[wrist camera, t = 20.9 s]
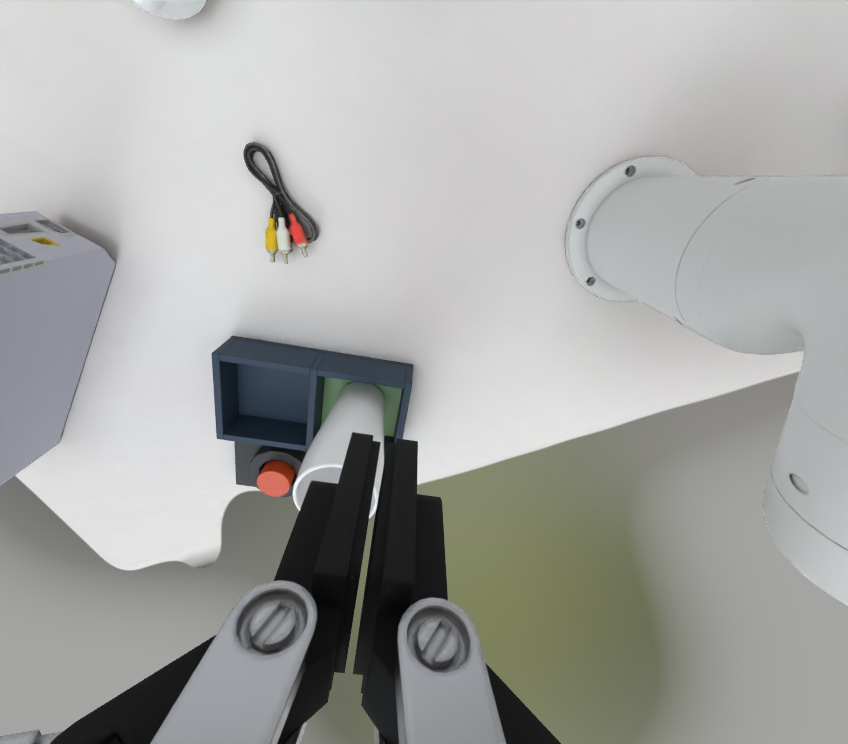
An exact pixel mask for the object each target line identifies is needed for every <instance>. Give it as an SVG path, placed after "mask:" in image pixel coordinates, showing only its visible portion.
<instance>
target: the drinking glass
mask: <svg viewBox="0 0 848 744" xmlns="http://www.w3.org/2000/svg"><path fill="white" fill-rule="evenodd" d="M385 407H386V402H385V398H384V395H383V394H382V392H381V391H380V390H379V389H378V388H377V387H376V386H374V385H373V384H367V383H361V382H353V383H350V384H348V385H346V386H345V387H343V388H342V389H341V391H340V392H339V394H338V396H337V398H336V401H335V403H334V405H333V407H332V408H331V410H330V412H329V414H328V415H327V417H326V419H325V420H324V422H323V424H322V426H321V427H320V429H319V431H318V432H317V434H316V436H315V438H314V439H313V441H312V443H311V445H310V447H309V449H308V450H307V453H306V455H305V457H304V459H303V461H302V464H301V466H300V469H299V472H298V475H297V478H296V481H295V484H294V487H293V499H294V502H295V505H296V507H297V508H298V510H299V511H300V509H301V506H302V503H303V500H304V498H305V495H306V492H307V490H308V487H309V485H310V482H311V481H312V480H313V481H321V482H328V483H336V484H338V482H339V478H340V475H341V471H342V467H343V464H344V460H345V456H346V453H347V449H348V446H349V442H350V438H351V435H352V432H355V433H362V434H369V435H373V441H378V442H381V444H380V451H379V457H378V463H377V470H376V476H375V482H374V489H373V495H372V501H371V508H370V514H369V518H370V517H371V516H372V515H373V514H374V512H375V511H376V509H377V503H378V497H379V491H380V485H381V479H382V473H383V467H384V414H385Z"/></svg>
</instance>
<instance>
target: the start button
mask: <svg viewBox="0 0 848 744" xmlns="http://www.w3.org/2000/svg"><path fill="white" fill-rule="evenodd" d="M294 477H295V472H294V470H293V468H292V467H291V466H290V465H289V464H287V463H286V462H284V461H280V460H273V461H270V462H268V463H266V464H265V466H264V467H263V469H262V471H261V473H260V474H259V476H258V478H257V486H258V488H259V489H260V490H261V491H262V492H263V493H265V494H267V495H269V496H274V497H278V496H282V495H284V494H286V493H287V492H288V491H289V489H290V487H291V484H292V482H293V480H294Z"/></svg>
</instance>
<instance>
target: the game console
mask: <svg viewBox="0 0 848 744" xmlns="http://www.w3.org/2000/svg"><path fill="white" fill-rule="evenodd" d="M115 264H116V263H115V262H114V261H113V259H112V258H111V257H110V256H109V254H108V253H107V252H106V250H105V249H104V248H102V247H101V246H99V245H97V244H95V243H93V242H91V241H89V240H88V239H86V238H84V237H82V236H80V235H78V234H76V233H75V232H73V231H71V230H69V229H67V228H65V227H63V226H62V225H60V224H58V223H56V222H54V221H52V220H50V219H49V218H47V217H45V216H43V215H41V214H40V213H39V212H37V211H33V212H21V213H9V214H0V486H1V485H2V484H3V483H5V482H6V481H8V480H9V479H10V478H12V477H13V476H14V475H16V474H17V473H19V472H20V471H21V470H23V469H24V468H25V467H27V466H28V465H29V464H31V463H32V462H34V461H35V460H36V459H38V458H39V457H40V456H42V455H43V454H45V453H46V452H47V451H49V450H50V449H51V448H53V447H54V446H56V445H57V444H58V443H59V442H60V438H61V435H62V431H63V428H64V425H65V422H66V419H67V416H68V413H69V409H70V406H71V403H72V400H73V397H74V394H75V390H76V387H77V384H78V381H79V378H80V375H81V372H82V368H83V365H84V362H85V359H86V356H87V353H88V349H89V346H90V343H91V340H92V337H93V334H94V331H95V327H96V324H97V321H98V318H99V315H100V312H101V308H102V305H103V302H104V299H105V296H106V293H107V290H108V286H109V283H110V280H111V277H112V274H113V271H114V267H115Z"/></svg>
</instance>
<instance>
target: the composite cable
mask: <svg viewBox="0 0 848 744" xmlns="http://www.w3.org/2000/svg"><path fill="white" fill-rule="evenodd" d="M256 151H259V152H261V153H262V154H263V155H264V157H265V159H266V160H267V162H268V164H269V167H270V169H271V172H272V175H273V178H274V181H275V183H276V186H274V185H273V184H272V183H271V181H270V180H269V179H268V178H267V177H266V176H265V175H264V174H263V173H262V172H261V171H260V170H259V169H258V168H257V166H256V165H255V163H254V161H253V158H252V156H253V153H254V152H256ZM243 154H244V160H245V163H246V166H247V168H248V169H249V171H250V172H251V173H252V174H253V175H254V176H255V177H256V178H257V179H258V180H259V181H260V182H262V183H263V184H264V185H265V187H266V188H267V189H268V190H269V191H270V193H271V194H272V195H273V204H272V208H271V211H270V218H269V226H268V228H267V229H266V249H267V251H268V252H269V253H270V257H271V261H270V262H272V263H273V262H275V254H276V252H277V251H278V250H279V251H280V253H281V254H282V255H283V259H284V263H286V264H288V257H287V255H288V254H289V253H290V252H291V251H293V250H292V244H291V243H292V242H293V240H294V242H295V245H296V246H297V247H298V248H300V249H301V250H302V253H303V255H304V257H307V256H308V255H307V252H306V247H307V246H308V245H307V243H311V242H312V241H315V240H316V239H317V237H318V229H317V227H316V225H315V223H314V222H313V220H312V219H311V218H310V217H309V216H308V215H307V214H306V213H304V212H303V211H302V210H301V209H300V208H299V207H298V206H297V205H296V204H295V203H294V202H293V201H292V200H291V199H290V198H289V196H288V195H287V193H286V192H285V189H284V187H283V184H282V181H281V178H280V175H279V172H278V169H277V166H276V163H275V160H274V158H273V156H272V155H271V153H270V152H269V151H268V150H267V149H266V148H265V147H264V146H262V145H260V144H258V143H255V142H253V143H249V144H247V145H246V146H245V149H244V153H243ZM274 210H275V212H274ZM291 210H294V211H295V212H297V213H298V214H299V215H300V216H301V217H302V218H303V219H304V220H305V221H306V222H307V223H308V224H309V226H310V229H311V231H312V236H311V238H307V237H306V236H305V233H304V230H303V227H302V225H301V224H300V223H299V222H298V221H297V219H296V216H295V214H294V213H292V211H291ZM273 214H274V218H273ZM276 222H277V226H278V229H276ZM292 237H293V240H292Z"/></svg>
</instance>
